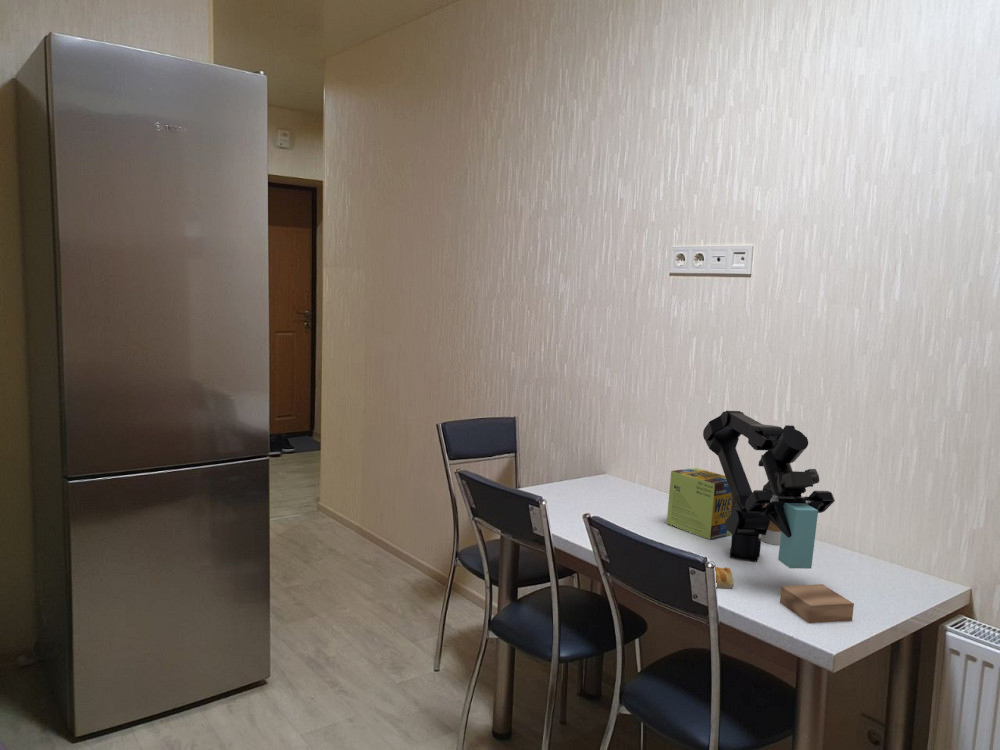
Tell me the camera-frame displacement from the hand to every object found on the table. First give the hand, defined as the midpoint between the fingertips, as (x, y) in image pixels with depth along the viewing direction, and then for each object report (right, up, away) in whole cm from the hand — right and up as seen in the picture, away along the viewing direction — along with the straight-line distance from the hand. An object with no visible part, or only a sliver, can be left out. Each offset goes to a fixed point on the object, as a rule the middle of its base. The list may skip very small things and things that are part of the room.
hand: (801, 536), depth 163 cm
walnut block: (0, -15, -6) cm, 16 cm away
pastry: (-17, -12, +7) cm, 22 cm away
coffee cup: (+8, -10, +39) cm, 40 cm away
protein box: (-10, -8, +46) cm, 47 cm away
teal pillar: (-1, -7, +2) cm, 7 cm away
